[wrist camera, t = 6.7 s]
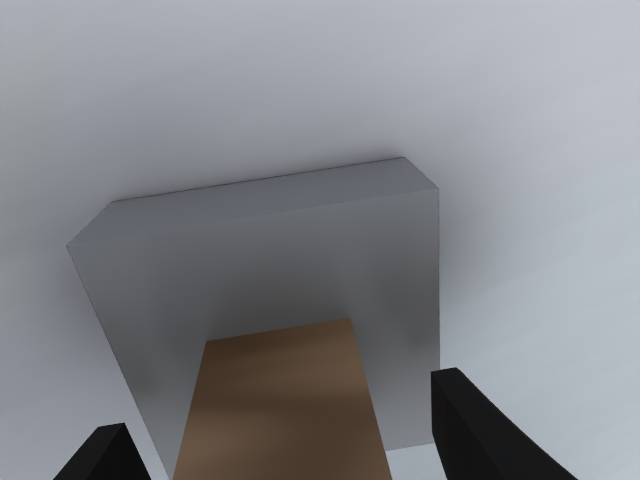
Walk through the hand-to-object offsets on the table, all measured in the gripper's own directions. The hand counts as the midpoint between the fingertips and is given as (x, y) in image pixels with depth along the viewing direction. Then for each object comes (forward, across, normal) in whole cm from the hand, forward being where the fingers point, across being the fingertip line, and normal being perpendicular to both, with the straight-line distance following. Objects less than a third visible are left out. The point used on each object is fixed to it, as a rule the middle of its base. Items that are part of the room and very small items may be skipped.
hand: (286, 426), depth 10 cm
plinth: (+5, 0, 0) cm, 5 cm away
